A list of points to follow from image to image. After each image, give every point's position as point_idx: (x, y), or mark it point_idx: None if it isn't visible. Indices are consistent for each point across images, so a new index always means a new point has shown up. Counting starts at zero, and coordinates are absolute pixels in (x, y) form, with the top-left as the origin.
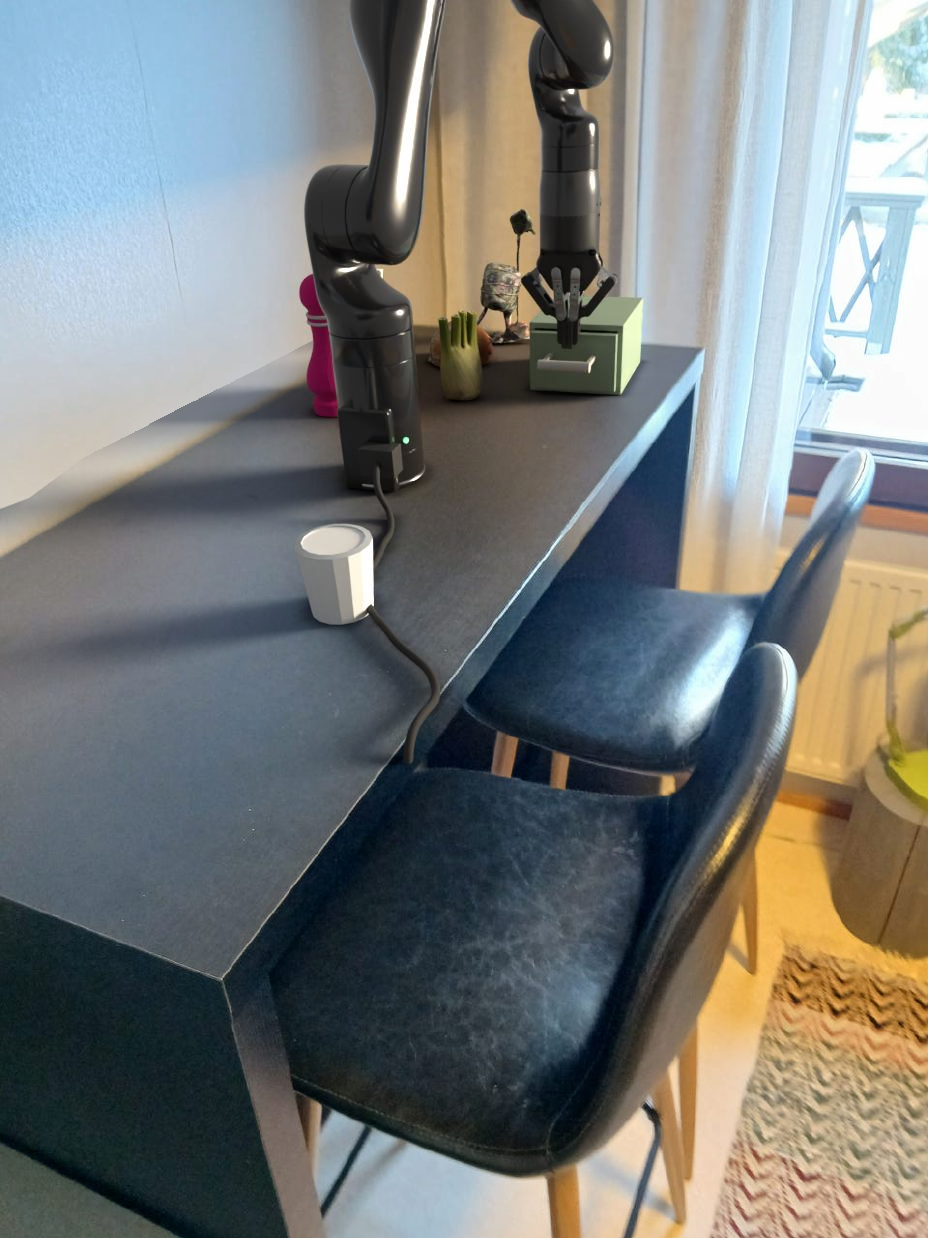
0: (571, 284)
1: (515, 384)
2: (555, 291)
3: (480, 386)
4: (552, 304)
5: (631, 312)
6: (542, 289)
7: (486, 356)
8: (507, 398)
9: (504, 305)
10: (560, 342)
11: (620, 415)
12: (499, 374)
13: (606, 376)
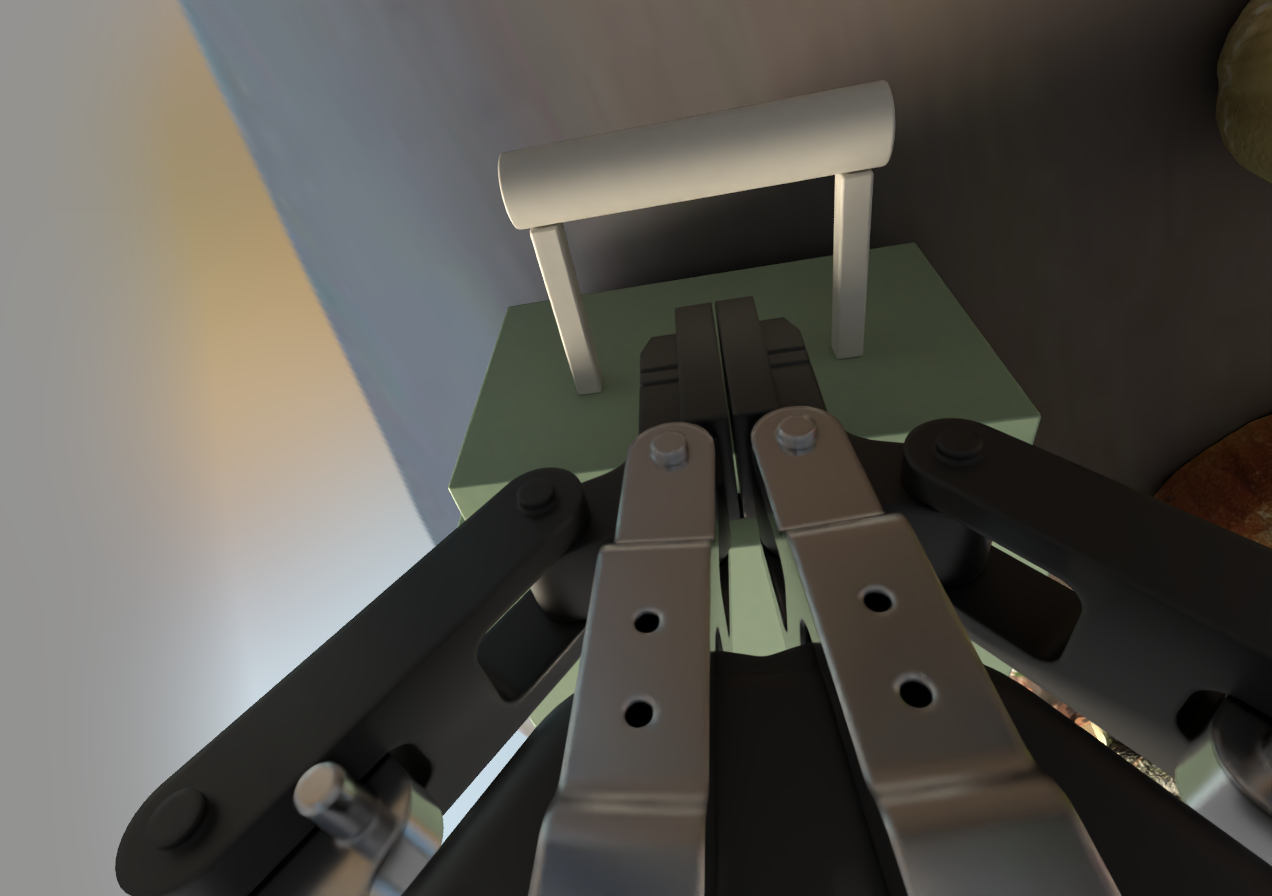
0: (690, 741)
1: (1003, 324)
2: (924, 618)
3: (1232, 100)
4: (926, 551)
5: (535, 720)
6: (1117, 688)
7: (1174, 506)
8: (1023, 125)
9: (1154, 769)
10: (769, 323)
11: (363, 92)
12: (1091, 409)
13: (533, 339)
